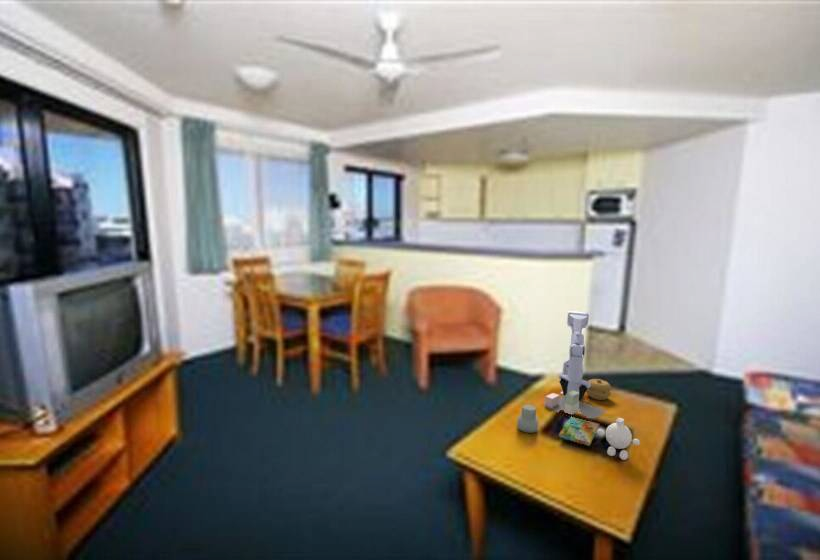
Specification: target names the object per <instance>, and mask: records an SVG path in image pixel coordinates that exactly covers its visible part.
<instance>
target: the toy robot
mask: <svg viewBox="0 0 820 560" xmlns="http://www.w3.org/2000/svg"><path fill="white" fill-rule="evenodd" d="M624 422H625V419H624V418H621V417H617V418H616V422H613V423H611V424H610V425H608V426H607V427H606V430H605V433H604V430H603V429H601V428H598V430H597V432H596V434H597V435H598V436H603V435H604V434H605V438H606V441H607V443H608V444H609V445H610V446H609V447H608V448H607V451H606V453H607V455H608V456H611V457H613V456H615V455H616V449H621V451H620V452H619V458H620V459H621V460H623V461H624V460H627V459H628V458H629V453H628V451H627V450H625V449H626V448H628V447H629V446H630V445H631V443H633V445H634V446H639V445H641V441H640V440H639V439H638V438H634V439H632V437H633V435H632V431H631V430H630V429H629V427H628V426H627V425H625V424H624Z"/></svg>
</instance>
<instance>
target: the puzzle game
mask: <svg viewBox="0 0 820 560" xmlns="http://www.w3.org/2000/svg"><path fill="white" fill-rule="evenodd" d="M598 429H600V423H597V422H593V421H586V420H583V419H579V418H575V417H572V416H571V417H570V416H569V419H567V421H566V423H565V425H563V428H562V429H561V430H560V432H559V433H558V437H560V438H562V439H564V440H566V441H569V440H570V442H572V441H573V443H575V442H577V443H576V444H579V443H580V445H582V444H584V445H583V446H585V445H587V446H586V447H590V446H591V444H592V441H594V440H593V439H594V438H595V436H596V434H597V430H598Z"/></svg>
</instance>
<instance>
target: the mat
mask: <svg viewBox="0 0 820 560" xmlns="http://www.w3.org/2000/svg"><path fill="white" fill-rule="evenodd" d="M565 398H566V395H565V396H564V395H562V396H559V404H558V405H556V406H554V407H552V408H550V407H547V406H545V404H544V405H542V407H544V408H546V409H548V410H552V411H555V412H557V413H559V411H560V410H564V408H565ZM579 409H580V410H579ZM579 409H578V410H579V412H581V413H582V415H585V416H586V417H587V418H593V420H595V419H596V418H597V417H599V416H601V415H602V414H604V413H605V412H606V410H605V409H602V408H600V407H597V406H594V405H591V404H588V403H584V402H582V401H579Z"/></svg>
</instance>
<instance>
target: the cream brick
mask: <svg viewBox="0 0 820 560" xmlns="http://www.w3.org/2000/svg"><path fill="white" fill-rule="evenodd" d="M578 409H579V402H578V403H577V404H575V405H573V406H571V405H568V404H565V408H564V412H565V413H568V414H571V415H572V414H574V413H576V412H578Z"/></svg>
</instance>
